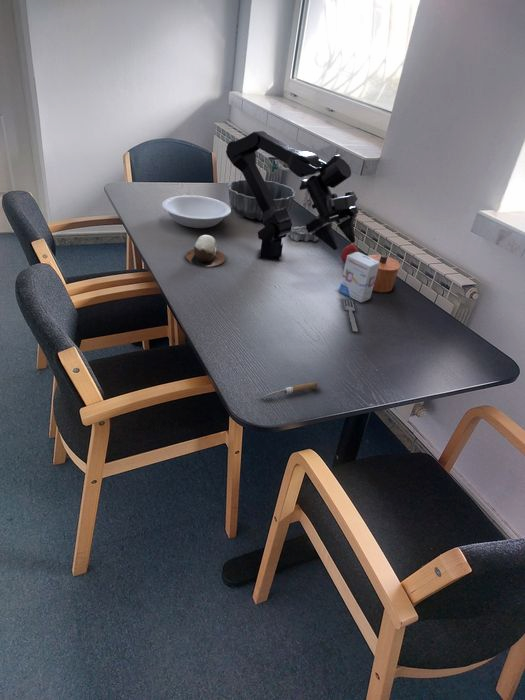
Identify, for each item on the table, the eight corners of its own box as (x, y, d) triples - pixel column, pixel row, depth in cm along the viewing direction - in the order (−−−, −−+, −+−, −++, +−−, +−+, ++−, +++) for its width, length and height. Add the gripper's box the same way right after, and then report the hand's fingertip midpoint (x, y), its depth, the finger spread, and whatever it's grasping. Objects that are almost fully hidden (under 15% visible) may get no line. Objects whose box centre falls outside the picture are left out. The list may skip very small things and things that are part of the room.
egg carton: (314, 234, 180) (316, 223, 177) (319, 242, 174) (322, 231, 171) (286, 233, 177) (288, 222, 175) (291, 241, 171) (293, 230, 169)
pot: (362, 290, 146) (368, 268, 142) (358, 275, 154) (363, 254, 150) (395, 294, 146) (402, 272, 142) (389, 279, 154) (395, 258, 150)
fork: (360, 333, 125) (360, 331, 124) (349, 331, 125) (350, 330, 124) (352, 301, 139) (352, 299, 138) (342, 300, 139) (342, 298, 138)
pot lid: (367, 270, 142) (369, 261, 140) (361, 255, 151) (364, 246, 149) (403, 275, 142) (405, 265, 140) (395, 260, 151) (398, 251, 149)
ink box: (337, 291, 143) (346, 254, 136) (347, 287, 146) (356, 250, 139) (361, 303, 138) (371, 265, 132) (370, 298, 141) (381, 261, 135)
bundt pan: (216, 202, 196) (218, 177, 190) (275, 202, 206) (278, 178, 200) (239, 227, 176) (242, 200, 171) (303, 224, 187) (307, 199, 181)
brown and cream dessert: (189, 243, 156) (211, 224, 151) (211, 268, 159) (233, 250, 154) (177, 256, 146) (201, 236, 141) (201, 282, 149) (224, 263, 144)
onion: (355, 270, 157) (361, 247, 152) (338, 267, 157) (343, 244, 153) (356, 263, 162) (362, 241, 157) (339, 260, 162) (344, 238, 158)
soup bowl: (241, 232, 172) (243, 214, 168) (180, 240, 160) (181, 221, 156) (209, 210, 188) (210, 193, 184) (151, 215, 175) (150, 197, 171)
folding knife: (260, 403, 97) (261, 396, 96) (257, 398, 98) (258, 391, 97) (318, 391, 103) (319, 383, 102) (314, 386, 104) (316, 379, 103)
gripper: (322, 186, 125) (348, 240, 126) (360, 177, 138) (383, 227, 138) (294, 206, 134) (318, 257, 135) (332, 196, 146) (354, 243, 147)
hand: (345, 246), depth 138 cm, fingers open, 9 cm apart
